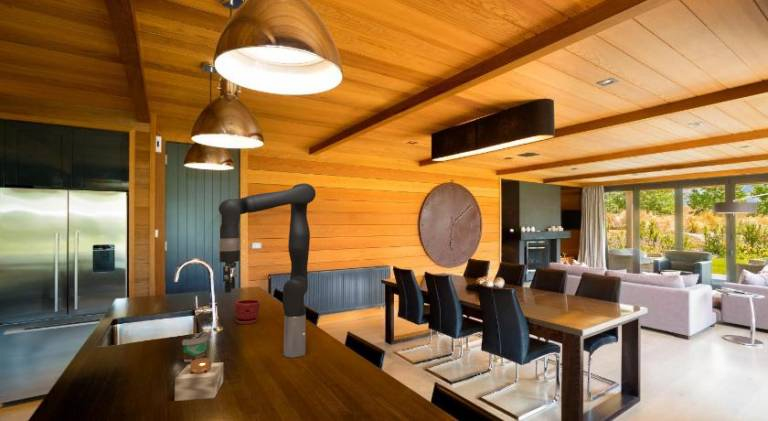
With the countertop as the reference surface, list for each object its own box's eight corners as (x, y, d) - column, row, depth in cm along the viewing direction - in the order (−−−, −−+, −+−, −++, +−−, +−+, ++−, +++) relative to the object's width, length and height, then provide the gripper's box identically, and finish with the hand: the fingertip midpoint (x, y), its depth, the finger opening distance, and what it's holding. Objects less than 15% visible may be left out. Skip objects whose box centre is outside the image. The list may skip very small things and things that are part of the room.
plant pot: (254, 325, 202) (255, 304, 202) (231, 325, 202) (231, 303, 202) (262, 319, 215) (263, 299, 215) (240, 319, 215) (241, 298, 215)
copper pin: (212, 384, 128) (213, 357, 128) (207, 393, 121) (208, 364, 122) (193, 386, 126) (193, 358, 127) (187, 394, 120) (187, 365, 120)
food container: (194, 366, 145) (195, 340, 145) (181, 364, 146) (182, 339, 146) (215, 355, 157) (215, 331, 157) (202, 354, 158) (203, 330, 158)
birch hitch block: (223, 381, 131) (223, 362, 131) (214, 397, 119) (214, 376, 119) (187, 384, 128) (187, 364, 129) (174, 401, 117) (175, 379, 117)
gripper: (236, 250, 138) (237, 293, 137) (242, 248, 152) (242, 286, 151) (215, 251, 136) (215, 294, 136) (223, 248, 150) (223, 288, 150)
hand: (230, 290), depth 143 cm, fingers open, 8 cm apart
